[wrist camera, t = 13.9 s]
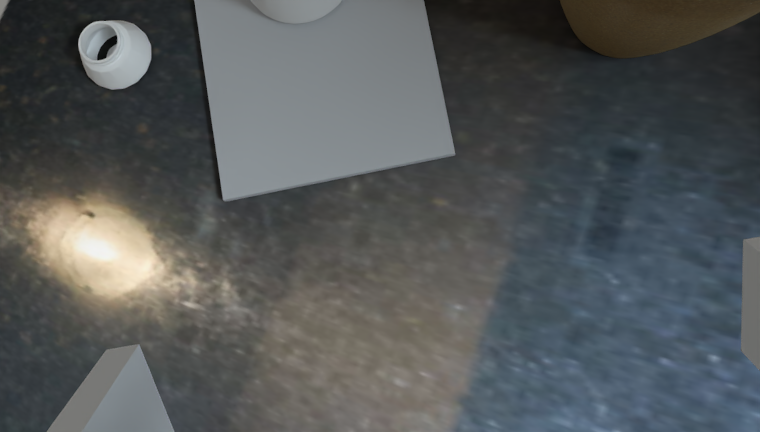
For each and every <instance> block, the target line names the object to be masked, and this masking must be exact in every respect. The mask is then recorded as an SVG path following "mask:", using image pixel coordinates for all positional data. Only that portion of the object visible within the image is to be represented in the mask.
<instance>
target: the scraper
mask: <svg viewBox="0 0 760 432" xmlns="http://www.w3.org/2000/svg"><path fill="white" fill-rule="evenodd" d="M194 2H195V9H196V16H197V23H198V30H199V37H200V44H201V51H202V57H203V64H204V71H205V78H206V85H207V92H208V99H209V106H210V113H211V120H212V127H213V134H214V141H215V147H216V154H217V161H218V168H219V175H220V182H221V189H222V196H223V200H224V201H226V202H227V201H231V200H236V199H241V198H246V197H251V196H256V195H261V194H266V193H271V192H276V191H281V190H286V189H291V188H296V187H301V186H306V185H311V184H316V183H321V182H326V181H331V180H336V179H341V178H346V177H351V176H356V175H361V174H366V173H371V172H376V171H381V170H385V169H390V168H395V167H400V166H405V165H410V164H415V163H420V162H425V161H430V160H435V159H440V158H445V157H450V156H455V150H454V145H453V140H452V136H451V131H450V126H449V121H448V116H447V111H446V106H445V101H444V96H443V92H442V87H441V82H440V77H439V72H438V67H437V62H436V57H435V52H434V48H433V43H432V38H431V33H430V28H429V23H428V18H427V13H426V8H425V4H424V0H342V1H341V2H340V4H339V5H338V6H337V7H336V8H335V9H334V10H332V11H331V12H330V13H328V14H327V15H325V16H323V17H322V18H319V19H317V20H315V21H311V22H307V23H301V24H290V23H283V22H280V21H277V20H274V19H272V18H270V17H268V16H266V15H265V14H263V13H262V12H261V11H260V10H259V9H258V8H257V7H256V6H255V5H254V4H253V3H252V2H251V1H250V0H194Z"/></svg>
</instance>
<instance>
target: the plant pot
mask: <svg viewBox="0 0 760 432" xmlns="http://www.w3.org/2000/svg"><path fill="white" fill-rule="evenodd" d="M560 3H561V5H562V8H563V11H564V13H565V15H566V18H567V20H568V22H569V24H570V26H571V28H572V30H573V32H574V33H575V35H576V36H577V37H578V38H579V40H580V41H581V42H582V43H584V44H585V45H586V46H587V47H589V48H590V49H592V50H594V51H596V52H598V53H600V54H602V55H605V56H609V57H614V58H634V57H641V56H647V55H652V54H657V53H661V52H665V51H668V50H672V49H675V48H678V47H681V46H684V45H688V44H690V43H693V42H696V41H698V40H701V39H703V38H706V37H709V36H711V35H713V34H716V33H718V32H720V31H722V30H725V29H727V28H729V27H731V26H733V25H735V24H737V23H739V22H741V21H744V20H746V19H748V18H750V17H752V16H753V15H755V14H757V13H759V12H760V0H560Z"/></svg>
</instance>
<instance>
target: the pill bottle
mask: <svg viewBox="0 0 760 432" xmlns="http://www.w3.org/2000/svg"><path fill="white" fill-rule="evenodd" d="M250 1H251V2H252V3H253V4H254V5H255V6H256V7H257V8H258V9H259V10H260V11H261V12H262V13H263V14H265V15H266V16H268V17H270V18H272V19H274V20H277V21H280V22H283V23H290V24H301V23H307V22H311V21H315V20H317V19H319V18H322V17H323V16H325V15H327V14H328V13H330V12H331V11H332V10H334V9H335V8H336V7H337V6H338V5H339V4H340V2H341V1H342V0H250Z"/></svg>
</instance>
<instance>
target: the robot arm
mask: <svg viewBox="0 0 760 432" xmlns="http://www.w3.org/2000/svg"><path fill="white" fill-rule="evenodd" d="M741 351H742V352H743V353H744V354H745V356H746V357H747V358H748V359H749V360H750V361H751V362H752V363H753V364H754V365H755V366H756V367H757V368H758V369H759V370H760V237H756V238H750V239H745V240H743V279H742V331H741ZM47 432H174V430H173V427H172V425H171V422H170V420H169V417H168V415H167V413H166V410H165V408H164V405H163V403H162V400H161V398H160V395H159V393H158V390H157V388H156V385H155V383H154V380H153V378H152V375H151V373H150V370H149V368H148V365H147V363H146V360H145V358H144V355H143V353H142V350H141V348H140V345H139V344H137V345H131V346H125V347H120V348H114V349H108V350H106V351H105V352H104V354H103V355H102V357H101V358H100V359H99V361H98V362H97V363H96V365H95V366H94V368H93V369H92V370H91V372H90V373H89V374H88V376H87V377H86V379H85V380H84V381H83V383H82V384H81V385H80V387H79V388H78V389H77V391H76V392H75V394H74V395H73V396H72V398H71V399H70V400H69V402H68V403H67V405H66V406H65V407H64V409H63V410H62V411H61V413H60V414H59V415H58V417H57V418H56V420H55V421H54V422H53V424H52V425H51V426H50V428H49V429H48V431H47Z"/></svg>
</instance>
